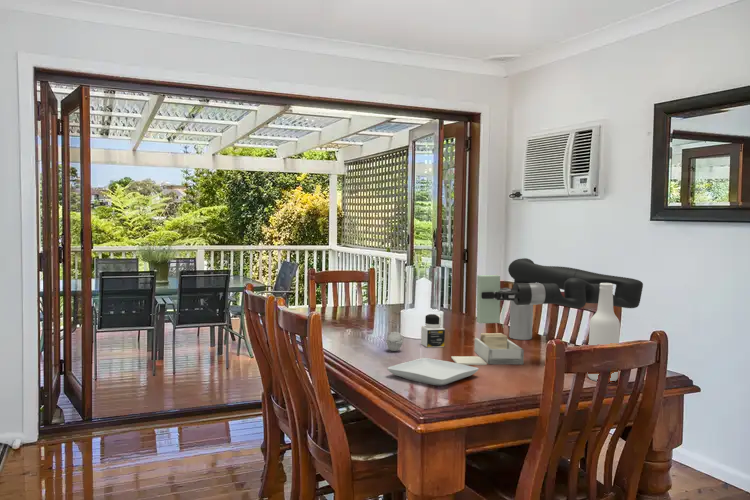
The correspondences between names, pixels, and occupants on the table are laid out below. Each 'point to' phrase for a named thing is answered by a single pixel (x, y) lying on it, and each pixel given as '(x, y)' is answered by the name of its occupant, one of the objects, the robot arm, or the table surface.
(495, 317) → the board
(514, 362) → the tray
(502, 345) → the offcut lower
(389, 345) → the frog figurine
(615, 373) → the alcohol
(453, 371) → the salad plate
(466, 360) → the pad
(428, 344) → the medicine bottle
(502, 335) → the offcut upper
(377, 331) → the table surface
